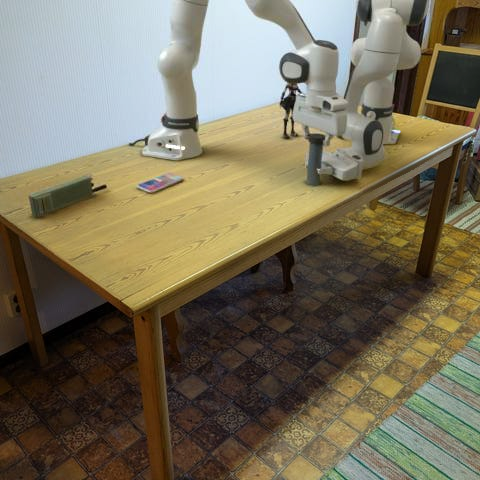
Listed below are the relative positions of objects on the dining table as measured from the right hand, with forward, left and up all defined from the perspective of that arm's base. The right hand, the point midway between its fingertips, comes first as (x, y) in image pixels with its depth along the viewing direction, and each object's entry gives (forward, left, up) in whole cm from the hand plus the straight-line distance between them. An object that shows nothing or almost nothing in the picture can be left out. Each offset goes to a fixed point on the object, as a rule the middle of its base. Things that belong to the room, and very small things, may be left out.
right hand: (312, 168), depth 164 cm
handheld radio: (+55, -52, -5) cm, 76 cm away
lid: (-1, 0, +10) cm, 10 cm away
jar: (-1, 0, -5) cm, 5 cm away
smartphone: (+29, -40, -5) cm, 50 cm away
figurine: (-39, -30, -5) cm, 49 cm away
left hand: (-1, 0, +9) cm, 9 cm away
